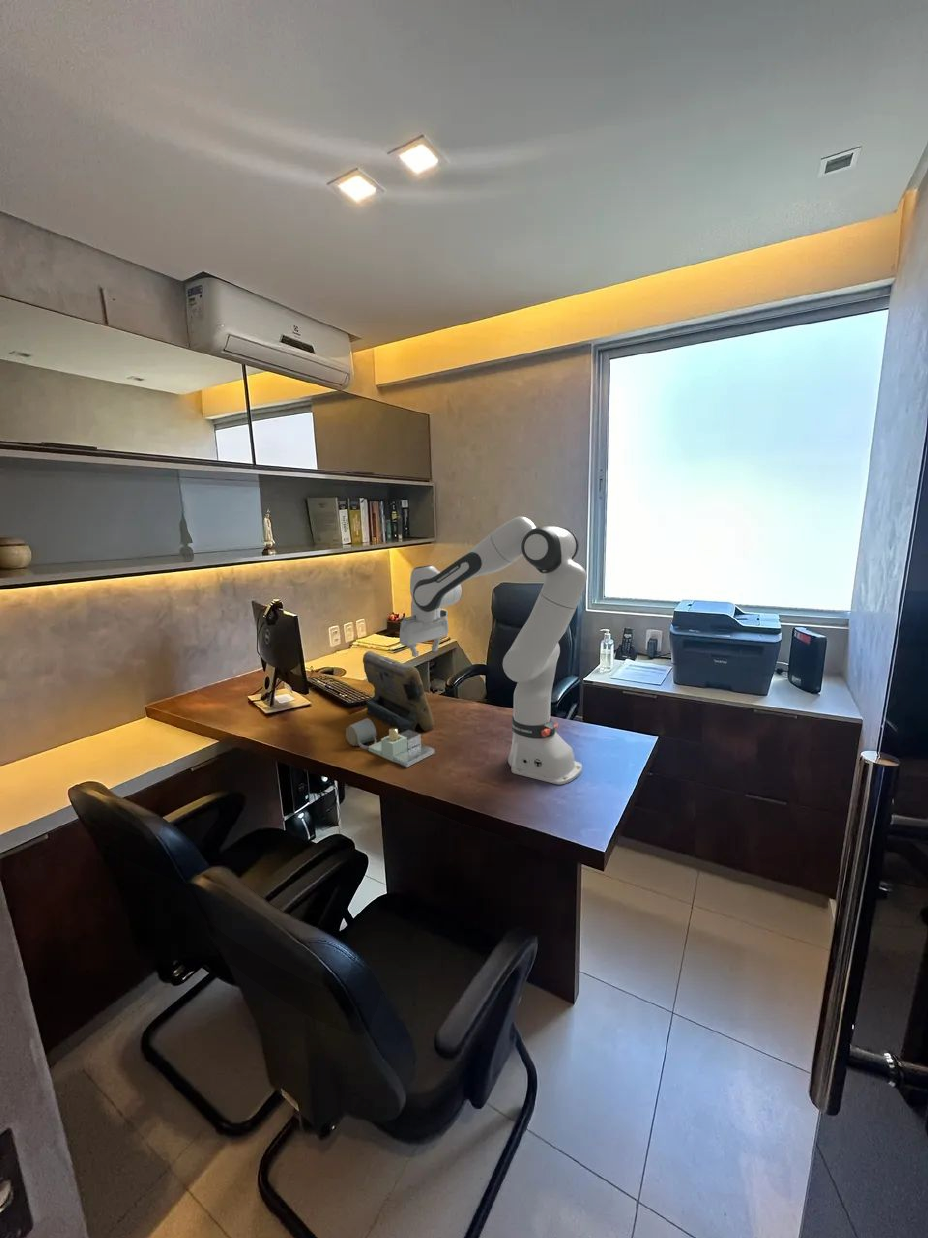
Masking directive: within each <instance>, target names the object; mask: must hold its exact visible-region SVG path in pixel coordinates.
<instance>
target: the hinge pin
mask: <svg viewBox="0 0 928 1238" xmlns="http://www.w3.org/2000/svg"><path fill="white" fill-rule="evenodd" d="M398 734H399V731H398V728H393V727H390V728H389V729H388V736H389V741H392V742H395V741H397V740H398Z"/></svg>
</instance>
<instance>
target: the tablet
mask: <svg viewBox="0 0 928 1238" xmlns="http://www.w3.org/2000/svg"><path fill="white" fill-rule="evenodd" d="M362 663H363V671H364V673H365V677H366V680H367V681H368V683H369V684H371V685H372V686H373V687H374V696H373V697H372V698H371V699H367V700H366V707H367V708H366V712H367V713H366V714H367V715H370V716H371V717H373V718H376V720H378V721H380V722H382V723H383V724H385V725H387V726H389V727H390V728H398V732H400V733H403V732H405V731H407V730H411V731H413V732H416V727H417V725H419V726H420V729H422V731H425V732H427V733H428V732H432V730H434V729H435V728H434V727H435V725H434V724H435V721H434V720H435V719H434V717H433V716H434V715H433V713H432V710H431V707H430V704H429V703H428V702H429V701H428V699H427V698H428V697H427V694H426V693H425V690H424V684H423V680H422V679H421V675H420V672H419V670H418V669H417V668H416V667H415V666H413V665H408V664H405V663H403V662H400V661H399V660H396V659H393V658H389V657H386V656H384V655H380V654H379V653H376V652H374V651H372V650H367V652H365V653H364V654H363V657H362Z"/></svg>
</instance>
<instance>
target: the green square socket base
mask: <svg viewBox="0 0 928 1238" xmlns="http://www.w3.org/2000/svg"><path fill="white" fill-rule="evenodd" d="M399 734H400V733H398V740H397V741H395V742H392V741H389V735H387V736H384V737H383V738H380V741H378V742H376V743H375V742H374V743H375V744H374V743H373V744H371V745H368V746H369V750H368V751H369V752H371V753H373V754H375V755H378V756H379V757H382V758H384V759H386V760H388V761H391V762H393V763H395V762H394V757H395V756H397V755H399V754H401V753H403V752H406V751H407V737H404V736H402V735H399Z"/></svg>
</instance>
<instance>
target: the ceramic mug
mask: <svg viewBox="0 0 928 1238" xmlns="http://www.w3.org/2000/svg"><path fill="white" fill-rule="evenodd" d="M345 737H346V739H347V742H348V744H350V746H353V747H358V746H359V747H360V748H361V749H363V750H366V751H367V750H368V751H369V746H370V745H364V744H367V743H369V742H373V741H374V743H373V744H375V743H377V728H376V726H375V724H374V722H373V721H372V720H371V719H370V718H368V717H367V718H364V719H361V720H358V721H356V722H355V723H352V724H349V726H348V727H347V728H346V729H345Z"/></svg>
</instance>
